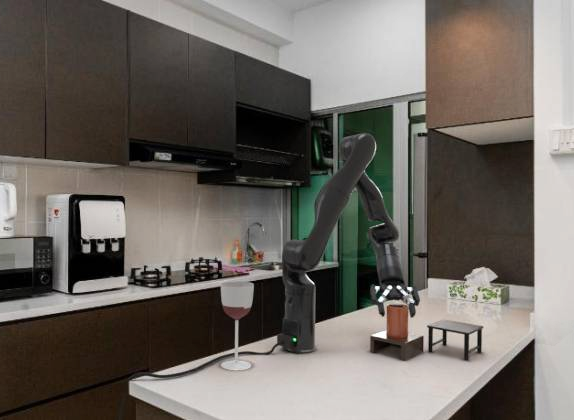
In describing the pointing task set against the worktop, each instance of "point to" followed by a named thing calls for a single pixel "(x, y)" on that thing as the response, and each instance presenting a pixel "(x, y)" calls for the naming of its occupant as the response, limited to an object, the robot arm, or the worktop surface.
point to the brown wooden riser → (398, 344)
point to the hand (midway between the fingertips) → (398, 315)
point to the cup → (397, 321)
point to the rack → (456, 328)
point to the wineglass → (236, 313)
